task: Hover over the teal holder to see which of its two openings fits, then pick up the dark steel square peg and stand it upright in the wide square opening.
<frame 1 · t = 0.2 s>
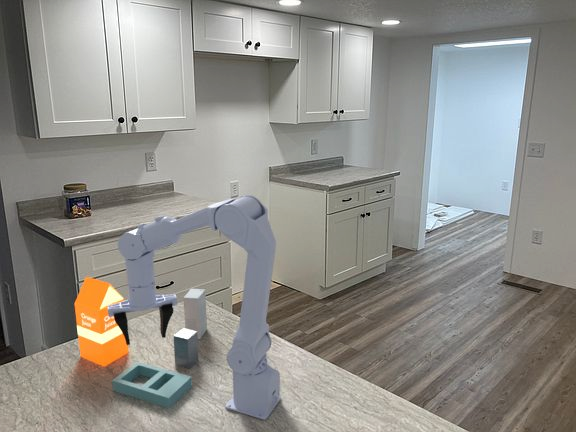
hand: (145, 339, 105), 10 cm above the countertop, tool pointing down, fingers open, 7 cm apart
orange juice: (105, 354, 118), on the countertop
skincare box: (196, 334, 128), on the countertop
holder: (152, 388, 104), on the countertop
peg: (187, 363, 114), on the countertop
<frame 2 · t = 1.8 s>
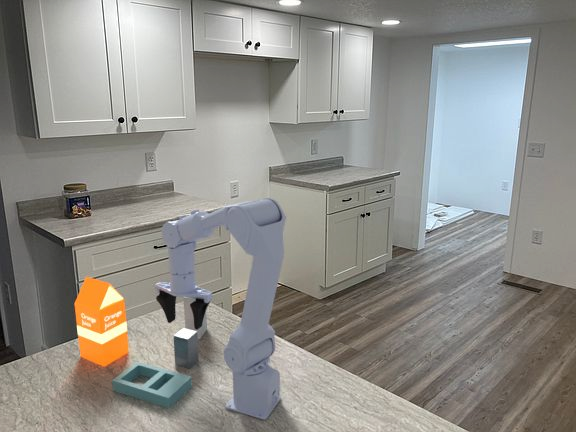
hand: (184, 324, 111), 10 cm above the countertop, tool pointing down, fingers open, 7 cm apart
nothing on the countertop moved.
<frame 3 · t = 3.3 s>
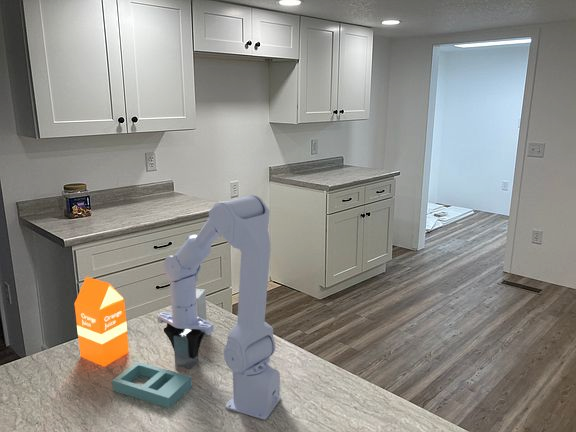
hand: (186, 354, 113), 2 cm above the countertop, tool pointing down, fingers closed on peg, 4 cm apart
peg: (187, 363, 114), on the countertop, touching gripper
everything else where it was.
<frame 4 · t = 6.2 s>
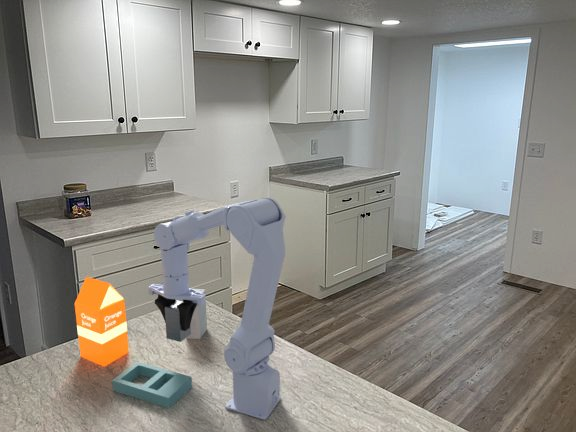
hand: (178, 326, 110), 10 cm above the countertop, tool pointing down, fingers closed on peg, 4 cm apart
peg: (178, 336, 111), point 8 cm above the countertop, touching gripper
everything else where it was.
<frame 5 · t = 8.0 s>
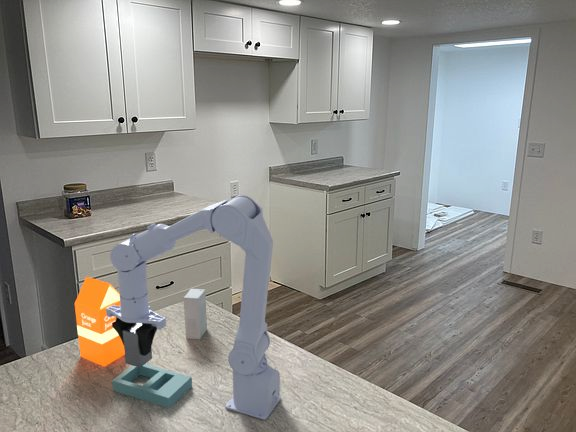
hand: (138, 351, 103), 8 cm above the countertop, tool pointing down, fingers closed on peg, 4 cm apart
peg: (139, 360, 104), point 6 cm above the countertop, touching gripper
everything else where it was.
when the fingers open (4 cm above the countertop, at t = 9.4 s): peg drops 2 cm, resting in holder.
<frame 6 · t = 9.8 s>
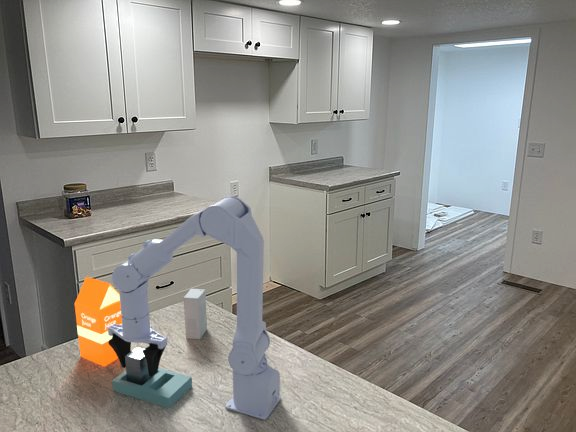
hand: (139, 369, 104), 4 cm above the countertop, tool pointing down, fingers open, 7 cm apart
peg: (141, 385, 105), resting in holder
everything else where it was.
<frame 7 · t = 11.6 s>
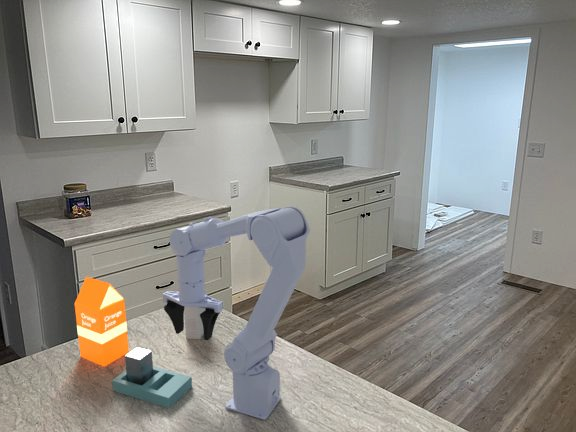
hand: (193, 335, 107), 10 cm above the countertop, tool pointing down, fingers open, 7 cm apart
nothing on the countertop moved.
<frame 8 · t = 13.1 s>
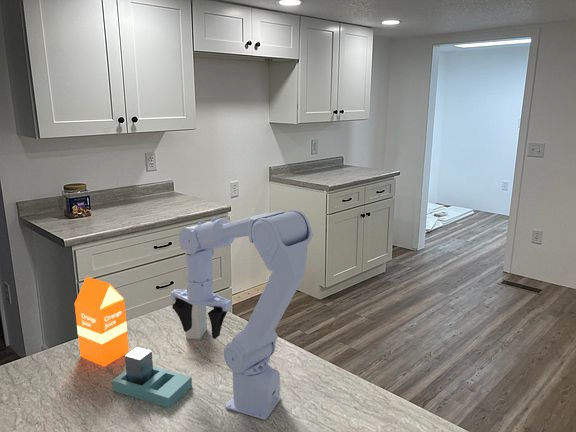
hand: (201, 333, 107), 10 cm above the countertop, tool pointing down, fingers open, 7 cm apart
nothing on the countertop moved.
at the end: peg 0.0 cm from the target spot on the holder, point 0.0 cm above the holder's base; peg tilted 0°; the gripper is holding nothing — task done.
